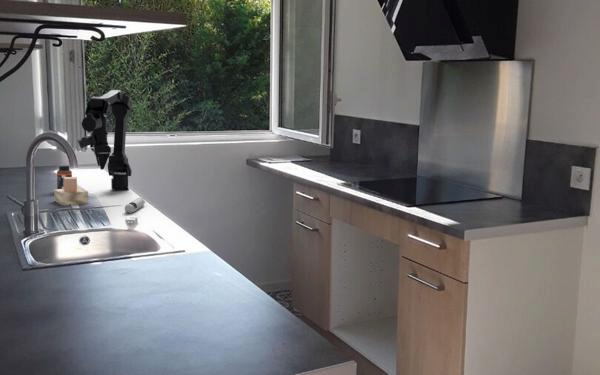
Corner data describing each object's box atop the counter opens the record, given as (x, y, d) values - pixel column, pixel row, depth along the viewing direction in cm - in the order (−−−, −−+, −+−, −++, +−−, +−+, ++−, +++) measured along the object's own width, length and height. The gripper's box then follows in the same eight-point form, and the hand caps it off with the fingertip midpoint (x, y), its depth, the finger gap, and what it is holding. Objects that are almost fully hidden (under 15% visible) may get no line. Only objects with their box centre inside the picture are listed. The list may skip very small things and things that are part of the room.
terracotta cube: (77, 189, 252) (76, 176, 251) (76, 191, 248) (76, 178, 247) (65, 189, 251) (64, 177, 250) (64, 191, 247) (63, 179, 246)
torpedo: (134, 214, 233) (134, 197, 231) (122, 214, 233) (121, 196, 232) (149, 205, 250) (149, 188, 249) (137, 204, 251) (137, 188, 249)
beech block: (80, 199, 258) (79, 187, 257) (88, 204, 250) (87, 191, 249) (54, 201, 252) (54, 189, 251) (61, 206, 244) (61, 193, 243)
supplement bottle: (67, 193, 268) (66, 166, 266) (54, 192, 270) (53, 165, 268) (75, 190, 274) (74, 164, 272) (62, 190, 275) (61, 164, 273)
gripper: (76, 127, 260) (77, 164, 263) (80, 131, 243) (81, 172, 246) (104, 126, 264) (105, 163, 267) (110, 131, 248) (111, 171, 251)
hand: (100, 167), depth 258 cm, fingers open, 9 cm apart
